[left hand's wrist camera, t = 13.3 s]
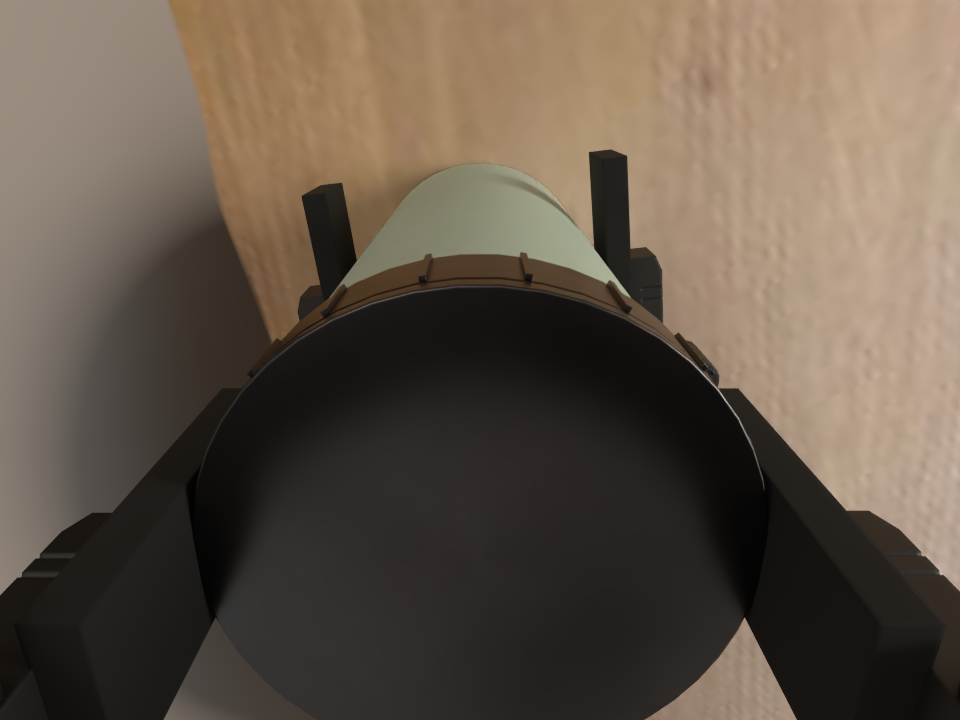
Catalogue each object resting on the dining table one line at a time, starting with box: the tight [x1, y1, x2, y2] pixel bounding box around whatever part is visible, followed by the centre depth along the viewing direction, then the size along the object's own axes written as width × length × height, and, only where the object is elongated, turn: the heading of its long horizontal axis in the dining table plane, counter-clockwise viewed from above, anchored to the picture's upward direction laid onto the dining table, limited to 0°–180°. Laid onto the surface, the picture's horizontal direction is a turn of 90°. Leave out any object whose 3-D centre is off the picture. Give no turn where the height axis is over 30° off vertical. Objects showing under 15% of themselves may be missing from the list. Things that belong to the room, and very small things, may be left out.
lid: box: [193, 252, 768, 720], centre depth 11 cm, size 9×9×2 cm
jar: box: [330, 163, 631, 298], centre depth 20 cm, size 9×9×20 cm
